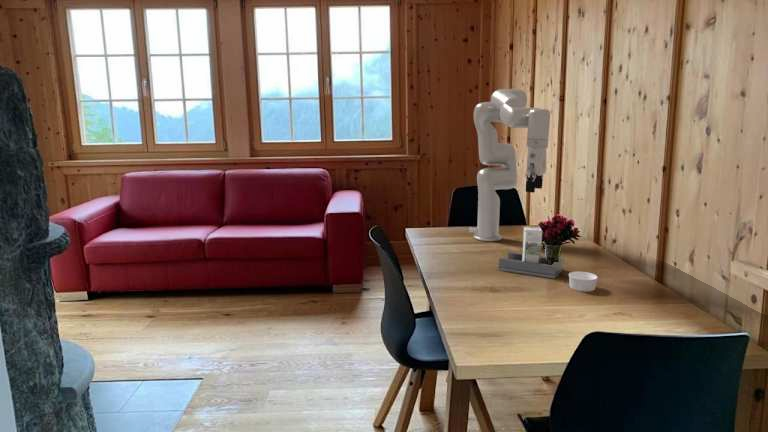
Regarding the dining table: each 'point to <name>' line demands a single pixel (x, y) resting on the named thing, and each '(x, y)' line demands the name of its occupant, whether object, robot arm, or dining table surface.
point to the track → (530, 266)
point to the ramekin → (582, 281)
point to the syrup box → (532, 244)
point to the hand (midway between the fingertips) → (533, 190)
